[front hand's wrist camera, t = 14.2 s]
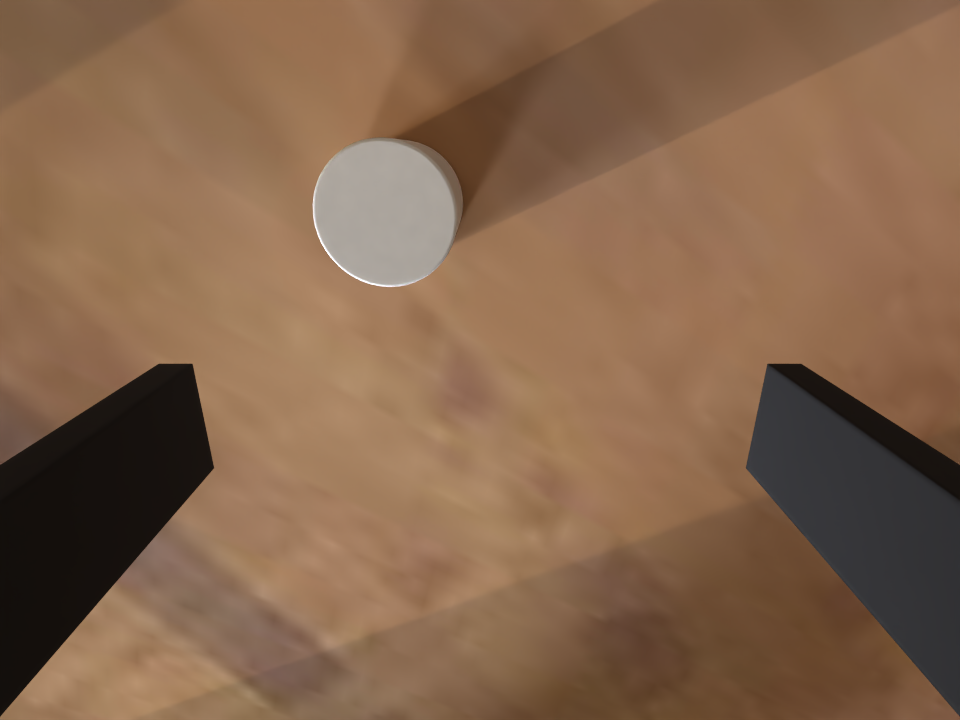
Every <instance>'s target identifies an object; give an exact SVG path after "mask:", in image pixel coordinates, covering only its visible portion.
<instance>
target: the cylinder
mask: <svg viewBox="0 0 960 720" xmlns="http://www.w3.org/2000/svg"><path fill="white" fill-rule="evenodd" d="M462 212H463V196H462V190H461V186H460V183H459V180H458V178H457V176H456V174H455V172H454V170H453V169H452V167H451V166H450V164H449V163H448V162H447V161H446V160H445V159H444V158H443V157H442V156H441V155H440V154H439V153H438V152H436V151H435V150H434V149H432V148H430V147H428V146H426V145H424V144H421V143H418V142H414V141H409V140H401V139H394V138H383V137H379V138H369V139H364V140H360V141H358V142H355V143H352V144H350V145H349V146H347V147H345V148H343V149H342V150H341V151H339V152H338V153H337V154H336V155H335V156H334V157H333V158H332V159H331V160H330V161H329V162H328V163H327V165H326V166H325V167H324V169H323V171H322V173H321V174H320V176H319V179H318V182H317V184H316V188H315V192H314V198H313V217H314V223H315V227H316V230H317V234H318V236H319V238H320V241H321V243H322V245H323V247H324V248H325V250H326V252H327V253H328V254H329V256H330V257H331V258H332V259H333V261H334V262H335V263H336V264H337V265H338V266H339V267H341V268H342V269H343V270H344V271H345V272H347V273H348V274H350V275H351V276H353V277H355V278H357V279H359V280H361V281H363V282H366V283H369V284H373V285H377V286H385V287H396V286H403V285H408V284H411V283H414V282H416V281H419V280H421V279H423V278H424V277H426V276H427V275H429V274H431V273H432V272H433V271H434V270H435V269H436V268H437V267H438V266H439V265H440V264H441V263H442V262H443V261H444V259H445V258H446V256H447V255H448V253H449V251H450V249H451V247H452V245H453V242H454V239H455V236H456V233H457V230H458V227H459V224H460V221H461V217H462Z"/></svg>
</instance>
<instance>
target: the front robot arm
mask: <svg viewBox="0 0 960 720" xmlns="http://www.w3.org/2000/svg"><path fill="white" fill-rule="evenodd" d="M213 469H214V465H213V461H212V456H211V451H210V446H209V441H208V437H207V432H206V427H205V422H204V417H203V412H202V408H201V403H200V398H199V393H198V388H197V383H196V379H195V374H194V369H193V364H158V365H156V366H155V367H153V368H152V369H150V370H148V371H147V372H145V373H144V374H142V375H141V376H139V377H137V378H136V379H134V380H133V381H131V382H130V383H128V384H127V385H125V386H123V387H122V388H120V389H119V390H117V391H116V392H114V393H112V394H111V395H109V396H108V397H106V398H105V399H103V400H101V401H100V402H98V403H97V404H95V405H94V406H92V407H90V408H89V409H87V410H86V411H84V412H83V413H81V414H80V415H78V416H76V417H75V418H73V419H72V420H70V421H69V422H67V423H65V424H64V425H62V426H61V427H59V428H58V429H56V430H54V431H53V432H51V433H50V434H48V435H47V436H45V437H43V438H42V439H40V440H39V441H37V442H36V443H34V444H32V445H31V446H29V447H28V448H26V449H25V450H23V451H22V452H20V453H18V454H17V455H15V456H14V457H12V458H11V459H9V460H7V461H6V462H4V463H3V464H1V465H0V716H1V715H2V714H3V713H4V711H5V710H6V709H7V708H8V707H9V706H10V705H11V703H12V702H13V701H14V700H15V699H16V698H17V696H18V695H19V694H20V693H21V692H22V691H23V689H24V688H25V687H26V686H27V685H28V684H29V682H30V681H31V680H32V679H33V678H34V677H35V675H36V674H37V673H38V672H39V671H40V670H41V668H42V667H43V666H44V665H45V664H46V663H47V662H48V660H49V659H50V658H51V657H52V656H53V655H54V653H55V652H56V651H57V650H58V649H59V648H60V646H61V645H62V644H63V643H64V642H65V641H66V639H67V638H68V637H69V636H70V635H71V634H72V632H73V631H74V630H75V629H76V628H77V627H78V625H79V624H80V623H81V622H82V621H83V620H84V619H85V617H86V616H87V615H88V614H89V613H90V612H91V610H92V609H93V608H94V607H95V606H96V605H97V603H98V602H99V601H100V600H101V599H102V598H103V596H104V595H105V594H106V593H107V592H108V591H109V589H110V588H111V587H112V586H113V585H114V584H115V582H116V581H117V580H118V579H119V578H120V577H121V576H122V574H123V573H124V572H125V571H126V570H127V569H128V567H129V566H130V565H131V564H132V563H133V562H134V560H135V559H136V558H137V557H138V556H139V555H140V553H141V552H142V551H143V550H144V549H145V548H146V546H147V545H148V544H149V543H150V542H151V541H152V540H153V538H154V537H155V536H156V535H157V534H158V533H159V531H160V530H161V529H162V528H163V527H164V526H165V524H166V523H167V522H168V521H169V520H170V519H171V517H172V516H173V515H174V514H175V513H176V512H177V510H178V509H179V508H180V507H181V506H182V505H183V503H184V502H185V501H186V500H187V499H188V498H189V497H190V495H191V494H192V493H193V492H194V491H195V490H196V488H197V487H198V486H199V485H200V484H201V483H202V481H203V480H204V479H205V478H206V477H207V476H208V474H209V473H210V472H211V471H212V470H213ZM746 469H747V470H748V471H749V472H750V473H751V474H752V476H753V477H754V478H755V479H756V480H757V481H758V483H759V484H760V485H761V486H762V487H763V488H764V490H765V491H766V492H767V493H768V494H769V495H770V497H771V498H772V499H773V500H774V501H775V502H776V503H777V505H778V506H779V507H780V508H781V509H782V510H783V512H784V513H785V514H786V515H787V516H788V517H789V519H790V520H791V521H792V522H793V523H794V524H795V526H796V527H797V528H798V529H799V530H800V531H801V533H802V534H803V535H804V536H805V537H806V538H807V540H808V541H809V542H810V543H811V544H812V545H813V546H814V548H815V549H816V550H817V551H818V552H819V553H820V555H821V556H822V557H823V558H824V559H825V560H826V562H827V563H828V564H829V565H830V566H831V567H832V569H833V570H834V571H835V572H836V573H837V574H838V576H839V577H840V578H841V579H842V580H843V581H844V583H845V584H846V585H847V586H848V587H849V588H850V589H851V591H852V592H853V593H854V594H855V595H856V596H857V598H858V599H859V600H860V601H861V602H862V603H863V605H864V606H865V607H866V608H867V609H868V610H869V612H870V613H871V614H872V615H873V616H874V617H875V619H876V620H877V621H878V622H879V623H880V624H881V625H882V627H883V628H884V629H885V630H886V631H887V632H888V634H889V635H890V636H891V637H892V638H893V639H894V641H895V642H896V643H897V644H898V645H899V646H900V648H901V649H902V650H903V651H904V652H905V653H906V655H907V656H908V657H909V658H910V659H911V660H912V662H913V663H914V664H915V665H916V666H917V667H918V668H919V670H920V671H921V672H922V673H923V674H924V675H925V677H926V678H927V679H928V680H929V681H930V682H931V684H932V685H933V686H934V687H935V688H936V689H937V691H938V692H939V693H940V694H941V695H942V696H943V698H944V699H945V700H946V701H947V702H948V703H949V705H950V706H951V707H952V708H953V709H954V710H955V711H956V713H957V714H958V715H959V716H960V465H959V464H957V463H956V462H954V461H953V460H951V459H949V458H948V457H946V456H945V455H943V454H942V453H940V452H938V451H937V450H935V449H934V448H932V447H931V446H929V445H928V444H926V443H924V442H923V441H921V440H920V439H918V438H917V437H915V436H913V435H912V434H910V433H909V432H907V431H906V430H904V429H902V428H901V427H899V426H898V425H896V424H895V423H893V422H891V421H890V420H888V419H887V418H885V417H884V416H882V415H880V414H879V413H877V412H876V411H874V410H873V409H871V408H870V407H868V406H866V405H865V404H863V403H862V402H860V401H859V400H857V399H855V398H854V397H852V396H851V395H849V394H848V393H846V392H844V391H843V390H841V389H840V388H838V387H837V386H835V385H833V384H832V383H830V382H829V381H827V380H826V379H824V378H823V377H821V376H819V375H818V374H816V373H815V372H813V371H812V370H810V369H808V368H807V367H805V366H804V365H802V364H767V369H766V374H765V379H764V383H763V388H762V393H761V398H760V403H759V408H758V412H757V417H756V422H755V427H754V432H753V437H752V441H751V446H750V451H749V456H748V461H747V465H746Z"/></svg>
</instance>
